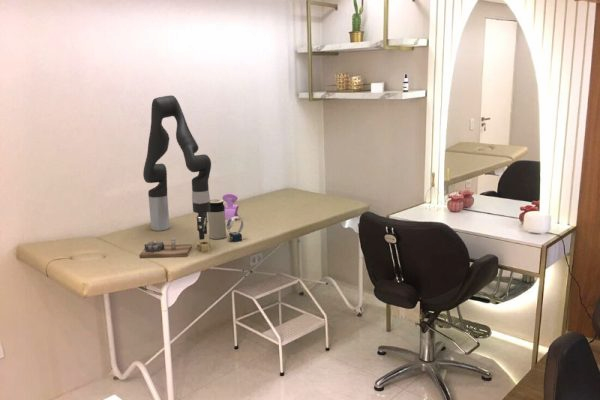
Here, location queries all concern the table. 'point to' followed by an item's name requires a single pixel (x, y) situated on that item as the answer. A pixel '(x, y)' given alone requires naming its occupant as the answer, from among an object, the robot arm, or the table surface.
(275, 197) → the table surface
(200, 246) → the brass gear
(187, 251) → the gear board
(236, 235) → the watch
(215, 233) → the travel mug
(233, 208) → the toy chair
